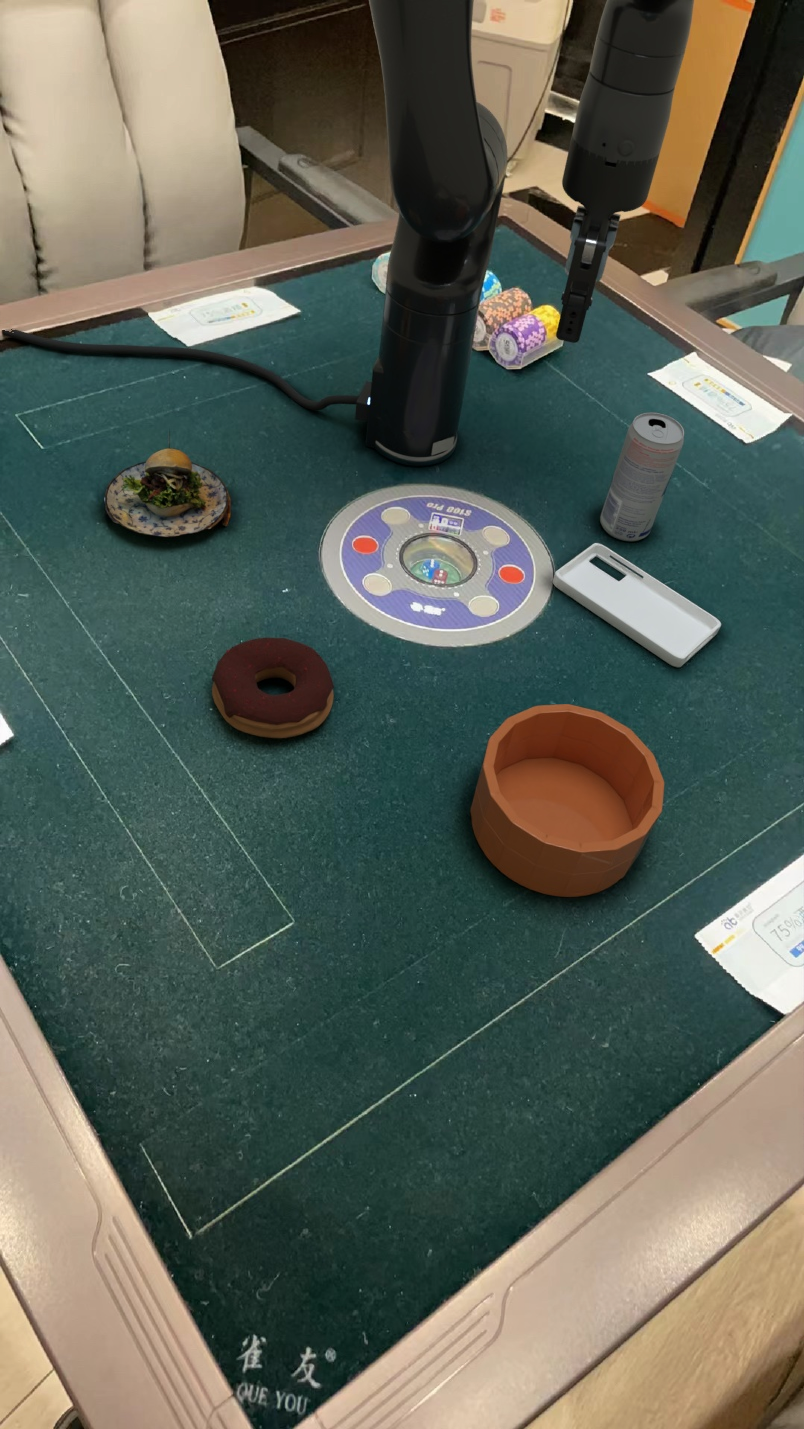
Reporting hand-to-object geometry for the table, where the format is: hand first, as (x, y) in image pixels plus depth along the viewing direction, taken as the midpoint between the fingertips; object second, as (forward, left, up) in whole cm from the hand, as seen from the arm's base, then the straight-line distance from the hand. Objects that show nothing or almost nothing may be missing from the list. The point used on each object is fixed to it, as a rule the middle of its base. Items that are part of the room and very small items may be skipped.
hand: (572, 317), depth 100 cm
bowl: (+8, -45, -18) cm, 49 cm away
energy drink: (+10, -6, -18) cm, 22 cm away
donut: (-17, -40, -18) cm, 47 cm away
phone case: (+12, -18, -18) cm, 28 cm away
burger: (-34, -20, -18) cm, 43 cm away
